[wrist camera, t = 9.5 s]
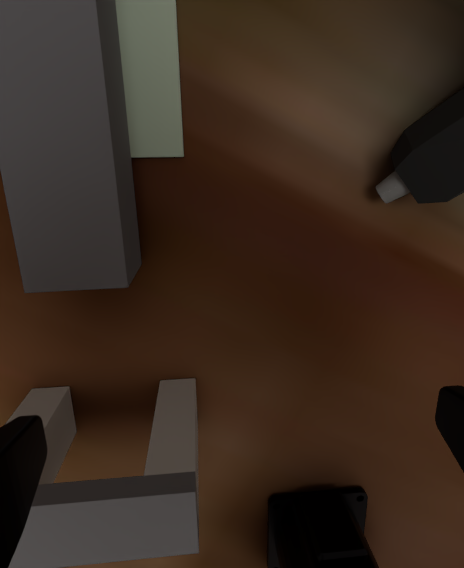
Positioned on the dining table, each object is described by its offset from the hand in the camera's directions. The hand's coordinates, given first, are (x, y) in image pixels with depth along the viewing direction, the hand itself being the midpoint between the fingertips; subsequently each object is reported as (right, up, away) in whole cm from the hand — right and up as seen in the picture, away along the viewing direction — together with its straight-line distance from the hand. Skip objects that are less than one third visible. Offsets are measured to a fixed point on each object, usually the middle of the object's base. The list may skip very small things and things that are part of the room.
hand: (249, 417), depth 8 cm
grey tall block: (-7, +11, +8) cm, 15 cm away
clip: (-7, -4, +13) cm, 15 cm away
